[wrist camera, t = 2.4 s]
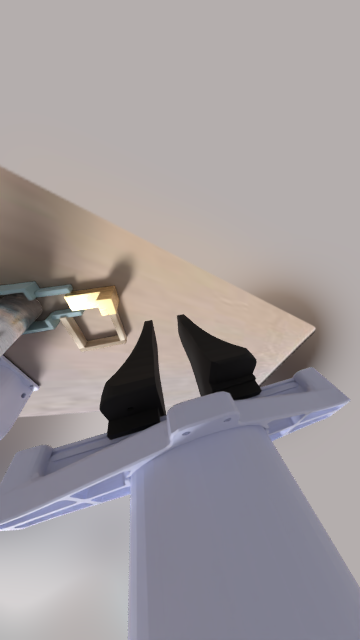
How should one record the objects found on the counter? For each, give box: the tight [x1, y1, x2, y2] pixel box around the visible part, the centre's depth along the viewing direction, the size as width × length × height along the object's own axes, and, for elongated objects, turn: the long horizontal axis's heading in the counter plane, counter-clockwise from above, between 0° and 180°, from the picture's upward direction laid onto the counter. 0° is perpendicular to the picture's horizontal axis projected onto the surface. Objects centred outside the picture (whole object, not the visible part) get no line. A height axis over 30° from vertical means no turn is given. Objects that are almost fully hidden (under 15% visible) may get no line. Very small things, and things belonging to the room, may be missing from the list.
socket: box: [0, 281, 84, 335], centre depth 17 cm, size 6×10×4 cm, turn 93°
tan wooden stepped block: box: [64, 286, 119, 316], centre depth 18 cm, size 2×6×4 cm, turn 93°
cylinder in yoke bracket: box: [0, 293, 42, 357], centre depth 15 cm, size 4×4×8 cm
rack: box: [59, 311, 127, 352], centre depth 22 cm, size 6×7×2 cm
